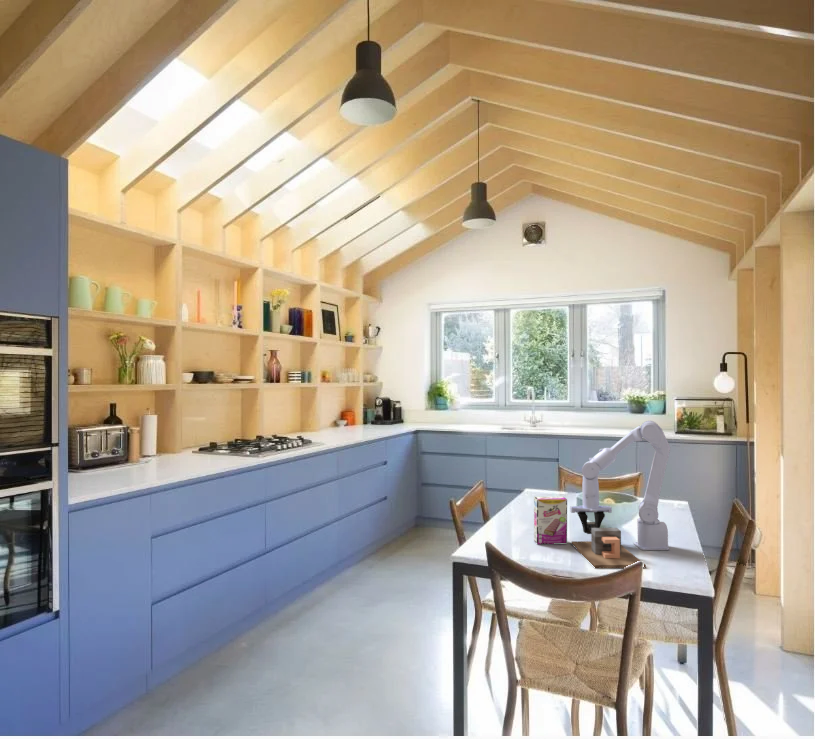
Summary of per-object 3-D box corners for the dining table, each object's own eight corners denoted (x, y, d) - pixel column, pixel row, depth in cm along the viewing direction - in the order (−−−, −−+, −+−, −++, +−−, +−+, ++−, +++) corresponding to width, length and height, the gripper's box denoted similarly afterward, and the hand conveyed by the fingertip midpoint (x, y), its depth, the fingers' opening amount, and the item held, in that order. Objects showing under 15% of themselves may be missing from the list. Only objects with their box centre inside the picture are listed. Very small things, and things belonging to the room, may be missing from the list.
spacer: (601, 554, 191) (616, 554, 190) (605, 558, 187) (619, 558, 187) (601, 536, 191) (615, 536, 191) (604, 539, 187) (619, 539, 187)
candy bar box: (537, 545, 206) (536, 499, 206) (533, 541, 211) (533, 496, 211) (568, 544, 206) (567, 498, 206) (563, 540, 211) (563, 495, 211)
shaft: (594, 531, 211) (594, 521, 211) (610, 545, 194) (610, 534, 194) (584, 531, 211) (584, 521, 211) (600, 545, 194) (600, 534, 194)
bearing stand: (616, 544, 206) (615, 519, 206) (645, 568, 180) (645, 540, 180) (571, 544, 206) (571, 519, 206) (594, 568, 180) (594, 540, 180)
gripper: (573, 497, 206) (574, 535, 205) (614, 497, 205) (614, 535, 205) (568, 493, 213) (568, 530, 212) (607, 493, 213) (608, 529, 212)
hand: (591, 532), depth 209 cm, fingers closed on shaft, 4 cm apart
